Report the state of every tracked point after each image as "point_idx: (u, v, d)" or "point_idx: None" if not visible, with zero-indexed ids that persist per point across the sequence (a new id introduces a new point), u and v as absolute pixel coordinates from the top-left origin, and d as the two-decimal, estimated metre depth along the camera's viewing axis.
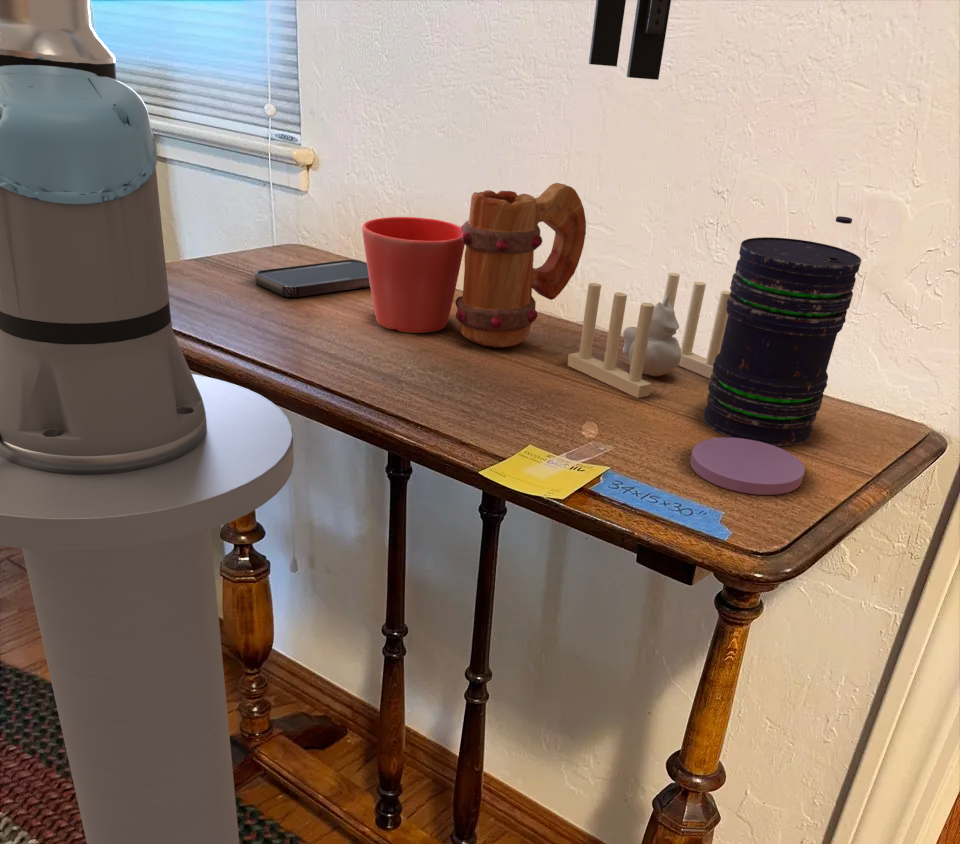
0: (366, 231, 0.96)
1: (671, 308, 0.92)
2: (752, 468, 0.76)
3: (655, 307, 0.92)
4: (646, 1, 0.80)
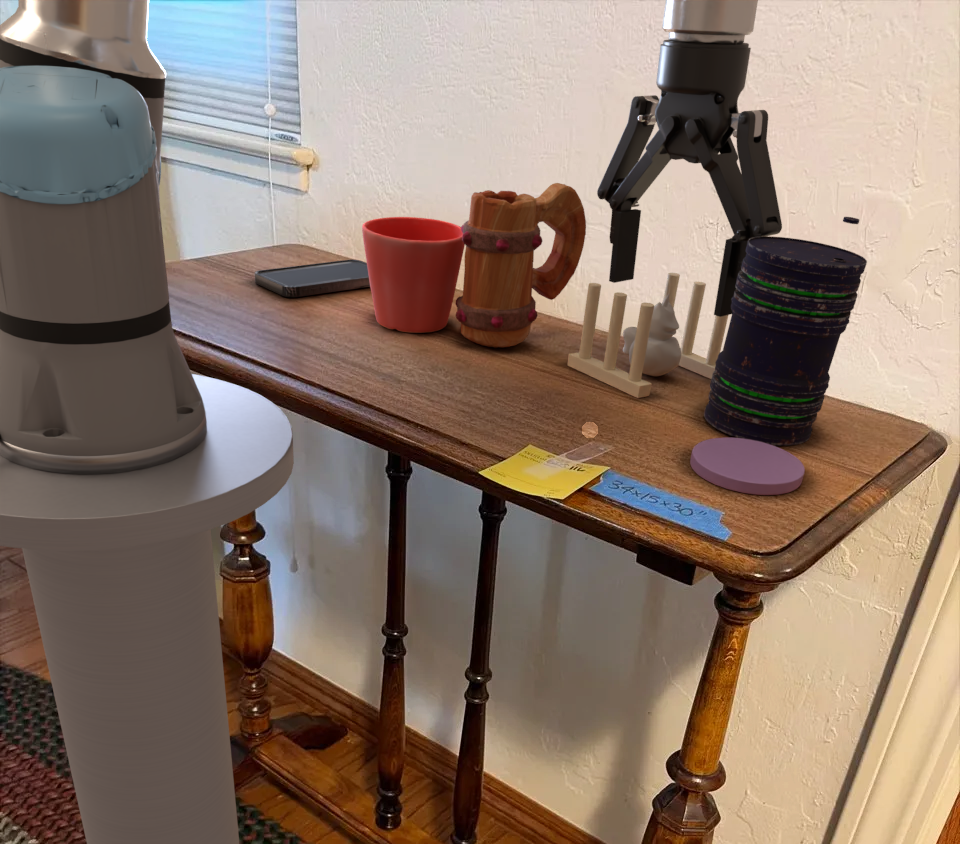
0: (366, 231, 0.96)
1: (671, 308, 0.92)
2: (752, 468, 0.76)
3: (655, 307, 0.92)
4: (735, 251, 0.84)
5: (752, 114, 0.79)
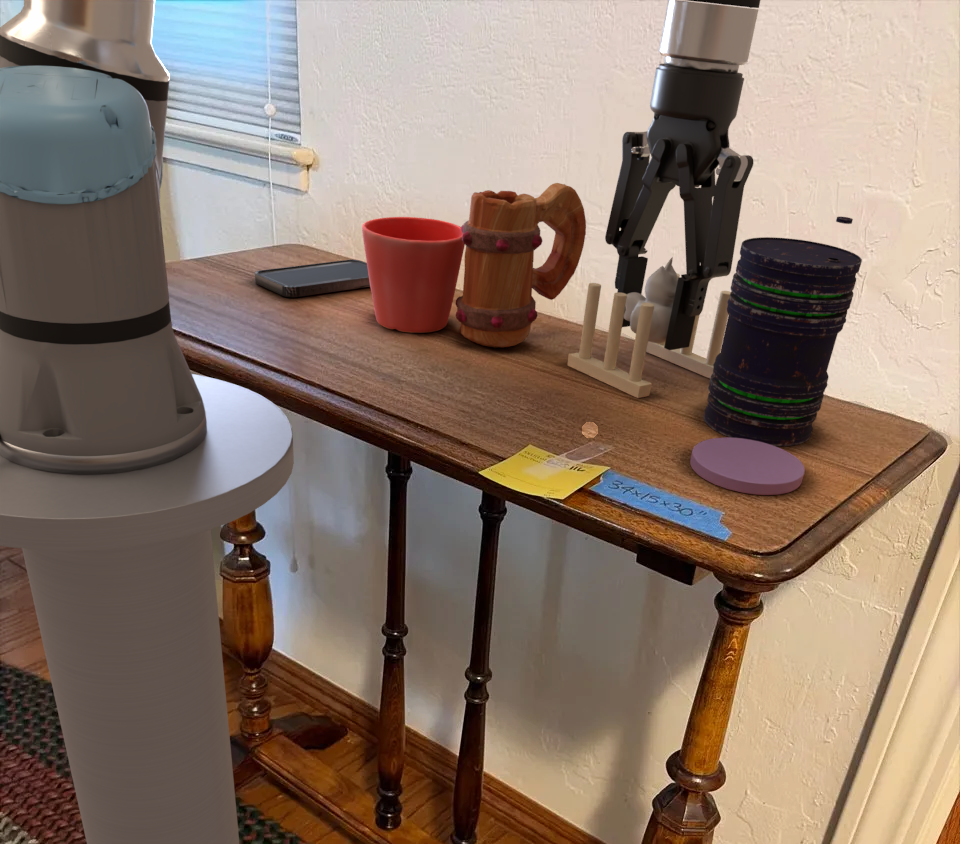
0: (366, 231, 0.96)
1: (674, 272, 0.90)
2: (752, 468, 0.76)
3: (658, 271, 0.90)
4: (686, 289, 0.88)
5: (738, 162, 0.80)
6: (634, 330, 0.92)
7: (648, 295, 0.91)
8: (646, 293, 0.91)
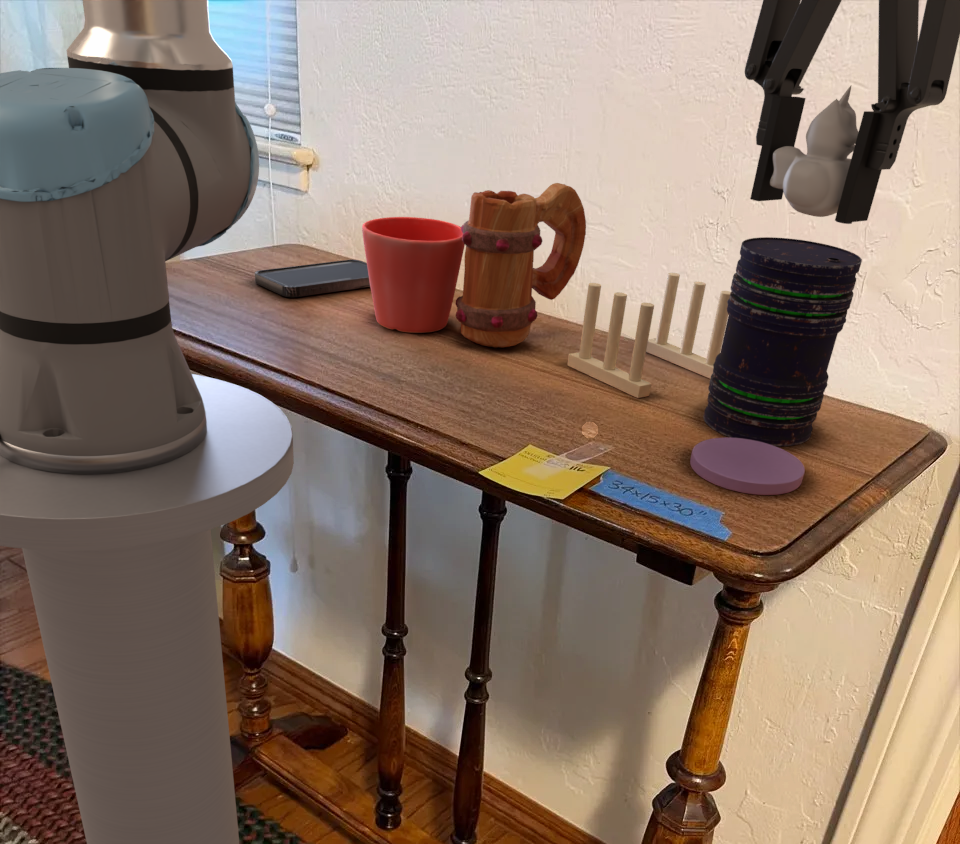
0: (366, 231, 0.96)
1: (852, 110, 0.63)
2: (752, 468, 0.76)
3: (829, 107, 0.63)
4: (874, 129, 0.61)
5: None
6: (791, 197, 0.65)
7: (813, 145, 0.64)
8: (810, 142, 0.64)
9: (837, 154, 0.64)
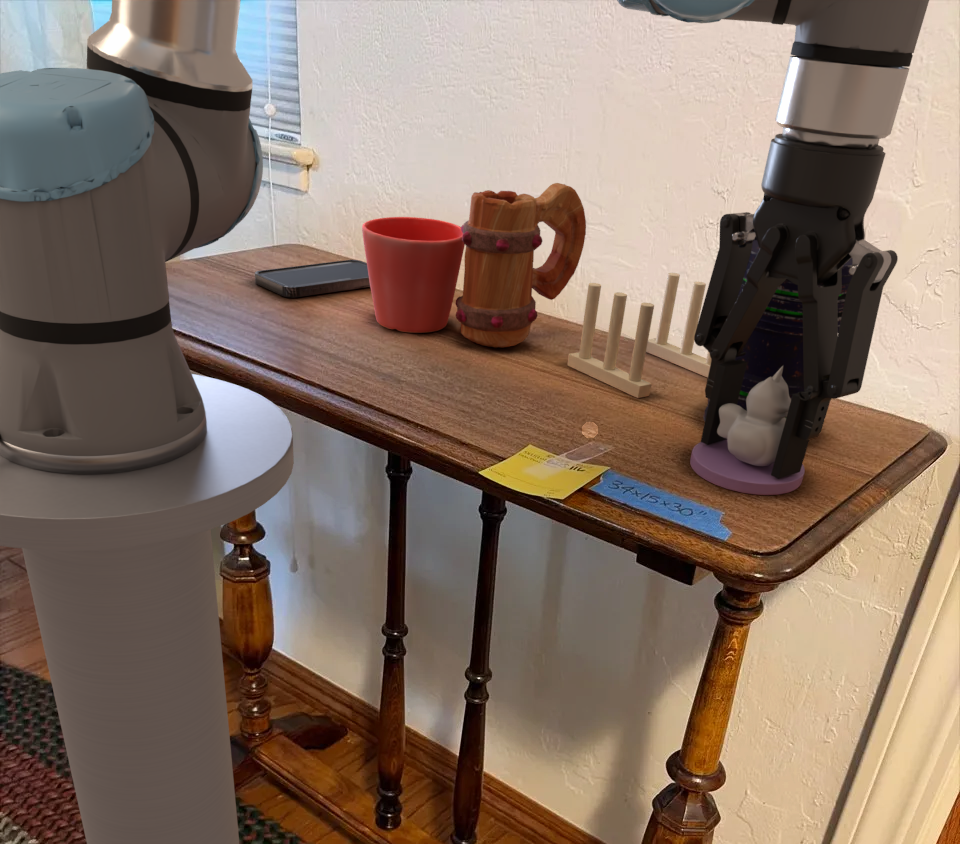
0: (366, 231, 0.96)
1: (784, 384, 0.73)
2: (752, 468, 0.76)
3: (765, 383, 0.73)
4: (802, 408, 0.71)
5: (881, 260, 0.63)
6: (733, 452, 0.75)
7: (751, 411, 0.74)
8: (749, 408, 0.74)
9: (772, 420, 0.73)
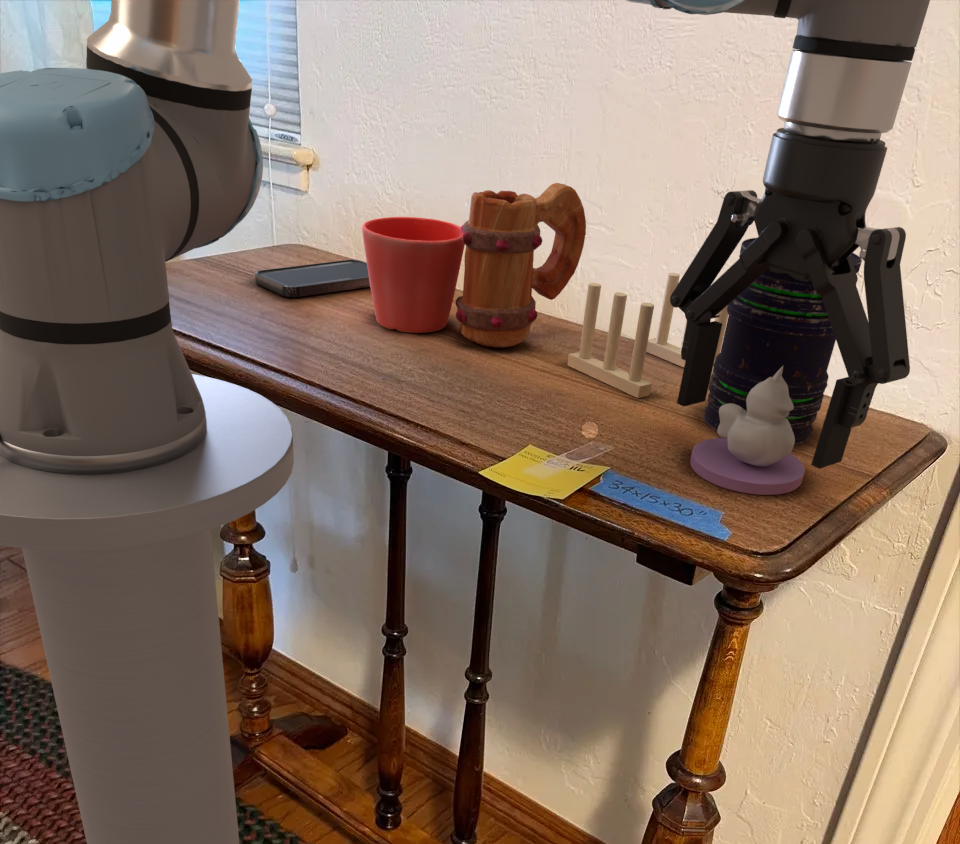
0: (366, 231, 0.96)
1: (784, 384, 0.73)
2: (752, 468, 0.76)
3: (765, 383, 0.73)
4: (846, 394, 0.68)
5: (888, 234, 0.62)
6: (733, 452, 0.75)
7: (751, 411, 0.74)
8: (749, 408, 0.74)
9: (772, 420, 0.73)
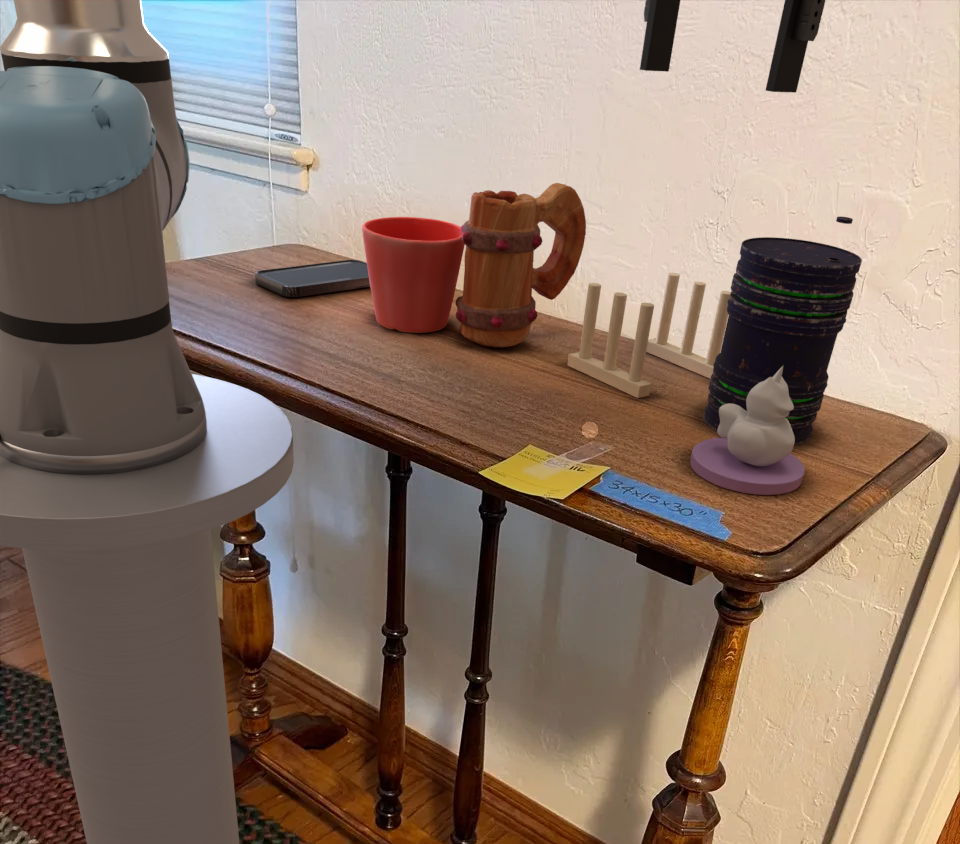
0: (366, 231, 0.96)
1: (784, 384, 0.73)
2: (752, 468, 0.76)
3: (765, 383, 0.73)
4: (798, 2, 0.68)
5: None
6: (733, 452, 0.75)
7: (751, 411, 0.74)
8: (749, 408, 0.74)
9: (772, 420, 0.73)
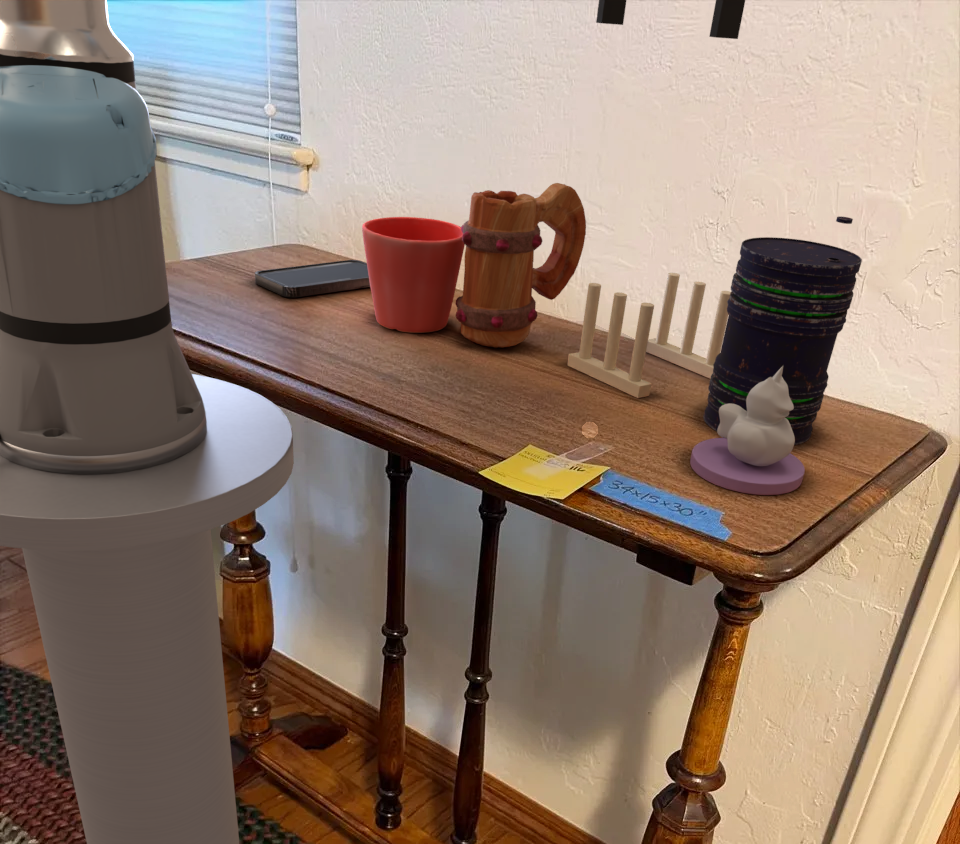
0: (366, 231, 0.96)
1: (784, 384, 0.73)
2: (752, 468, 0.76)
3: (765, 383, 0.73)
4: None
5: None
6: (733, 452, 0.75)
7: (751, 411, 0.74)
8: (749, 408, 0.74)
9: (772, 420, 0.73)
